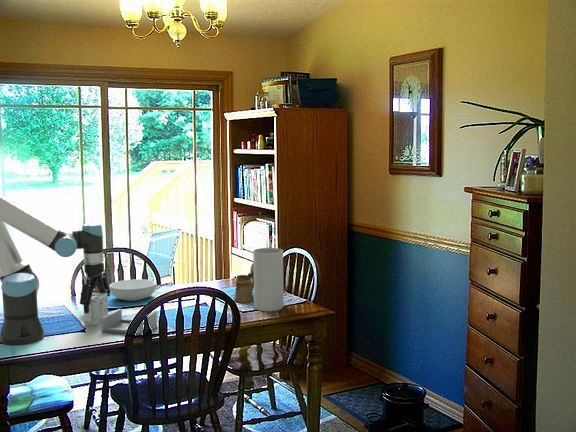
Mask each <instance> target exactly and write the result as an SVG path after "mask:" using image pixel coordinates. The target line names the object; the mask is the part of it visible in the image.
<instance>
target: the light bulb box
mask: <svg viewBox="0 0 576 432" xmlns="http://www.w3.org/2000/svg"><path fill="white" fill-rule="evenodd" d="M108 297H109V296H107V293H93V294H92V297H91V301H90V304H91V314H92V321H85V318H84V317H83V318H84V319H83V320H84V323H83V325H84V326H98V327H99V326H102V324H101V318H102V317H104V316H106V315H108V314H109V305H108V304H109V303H108Z"/></svg>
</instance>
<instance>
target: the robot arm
mask: <svg viewBox="0 0 576 432" xmlns="http://www.w3.org/2000/svg"><path fill="white" fill-rule="evenodd" d="M5 224H7V225H9V226H11V227H12V228H14V229H16V230H17V231H19V232H21V233H23V234H24V235H26V236H28V237H30V238H32V239H33V240H35V241H37V242H39V243H41V244H42V245H44V246H46V247H48V249H50V250H52V251H54V252H55V253H56V254H57V255H59V257H61V258H69V257H71V256H73V255H74V254H75V253H76V251H77V250H83V263H84V265H83V271H84V274H86V275H87V277H86V278H83V279H82V287H81V291H80V293H81V294H80V300H79V305H82V306H83V318H85V321H92V314H91V304H90V301H91V297H92V294H93V290H96V287H97V290H99V291H100V293H107V297H110V295H111V291H110V288H109V285H110V284H109V282H108V277H107V276H108V275H107V271H106V272H105V264H104V258H105V257H104V234H103V227H102V225H101V224H100V223H93V222H92V223H85V224H82V226H81V229H74V230H73V229H72V230H71V229H69V230H68V229H67V230H60V229H59V228H58V227H56V226H54V225H52V224H50V223H48V222H47V221H46V220H44V219H42V218H40V217H38V216H36V215H35V214H33V213H31V212H30V211H28V210H26V209H24V208H23V207H21V206H20V205H18V204H16V203H15V202H12V201H11V200H9V199H7V198H6V197H4V196H2V195H0V283H1V284H0V285H1V287H0V288H1V292H2V307H3V308H2V311H3V322H2V326H1V329H0V343H2V344H4V345H9V346H10V345H11V346H17V345H19V346H21V345H27V344H28V345H29V344H31V343H35V342H39V341H41V340H42V339H43V338H45V329H44V328H43V325H42V323H41V321H40V318H39V311H38V291H39V288H40V281H39V278H38V276H37V274H36V273H35V272H34V271H33V269H32V268H31V266H30V263H29V262H28V261H25V260H23V259H22V256H21V255H20V253H19V251H18V249H17V246H16V245H15V242H14V240H13V238H12V236H11V235H10V233H9V231H8V229H7V226H6V225H5Z"/></svg>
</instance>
